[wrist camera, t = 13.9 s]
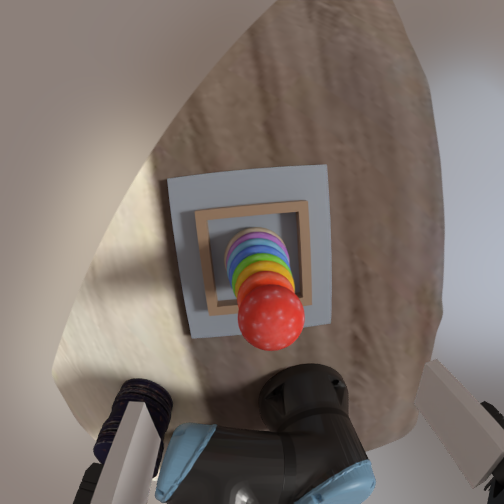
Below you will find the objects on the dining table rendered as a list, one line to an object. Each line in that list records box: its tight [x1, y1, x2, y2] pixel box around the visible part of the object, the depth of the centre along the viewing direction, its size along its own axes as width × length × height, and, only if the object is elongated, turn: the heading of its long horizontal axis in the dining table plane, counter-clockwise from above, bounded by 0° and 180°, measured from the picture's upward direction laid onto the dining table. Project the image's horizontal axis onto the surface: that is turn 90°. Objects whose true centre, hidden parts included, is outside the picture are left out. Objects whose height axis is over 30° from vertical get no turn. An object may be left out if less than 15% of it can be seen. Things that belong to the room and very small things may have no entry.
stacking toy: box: [224, 227, 305, 351], centre depth 28 cm, size 8×8×19 cm
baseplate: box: [167, 165, 332, 338], centre depth 37 cm, size 22×20×3 cm
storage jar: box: [93, 378, 173, 478], centre depth 37 cm, size 10×10×15 cm
